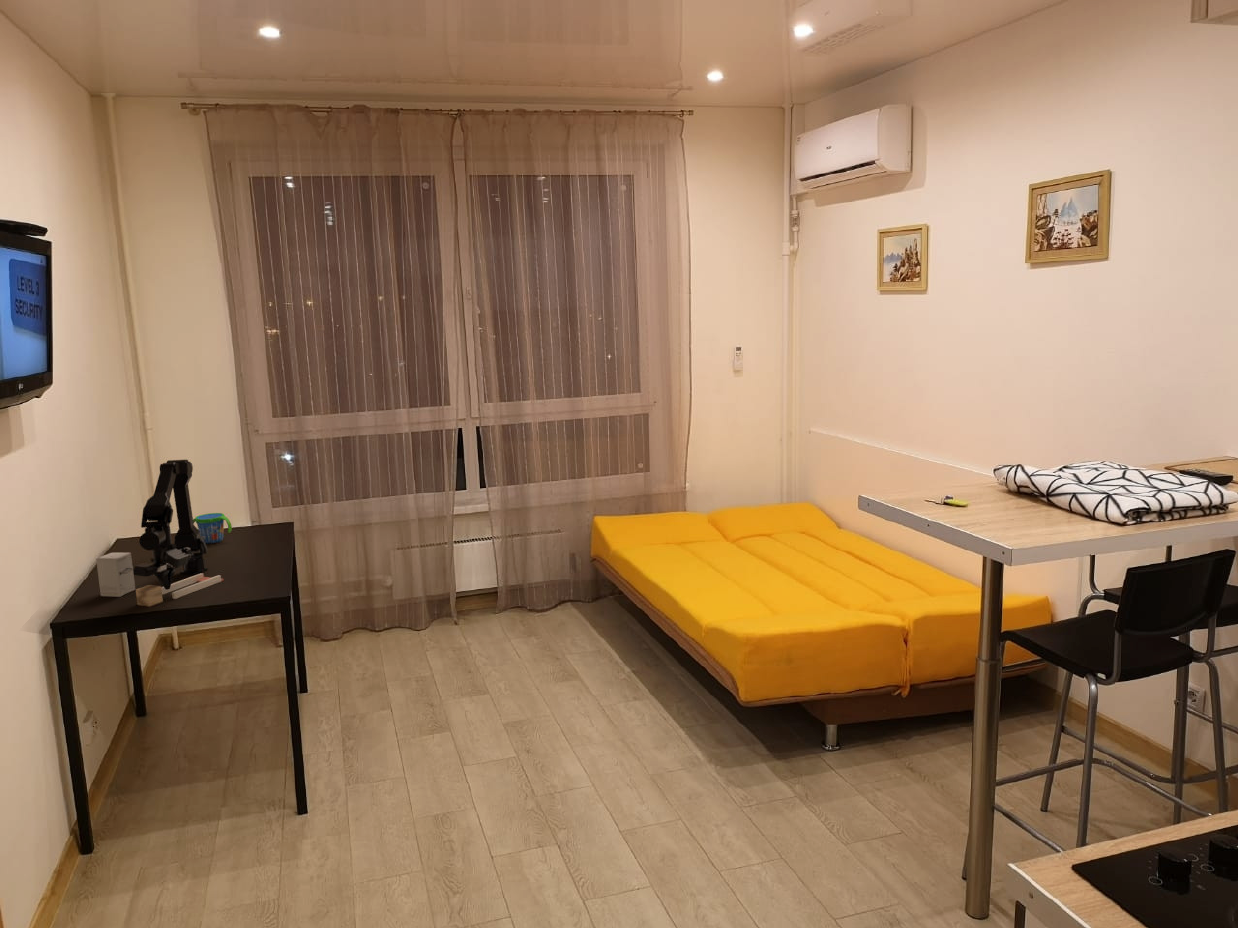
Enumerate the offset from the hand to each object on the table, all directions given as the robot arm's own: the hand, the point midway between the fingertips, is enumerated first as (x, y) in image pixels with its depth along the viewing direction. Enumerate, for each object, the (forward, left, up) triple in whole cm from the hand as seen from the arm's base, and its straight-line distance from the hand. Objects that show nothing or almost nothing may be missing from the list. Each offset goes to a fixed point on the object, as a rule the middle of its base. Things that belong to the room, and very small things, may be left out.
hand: (167, 589), depth 299 cm
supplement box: (-19, -3, -3) cm, 19 cm away
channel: (0, +8, -2) cm, 9 cm away
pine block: (0, -7, -2) cm, 7 cm away
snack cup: (-40, +57, -3) cm, 70 cm away
